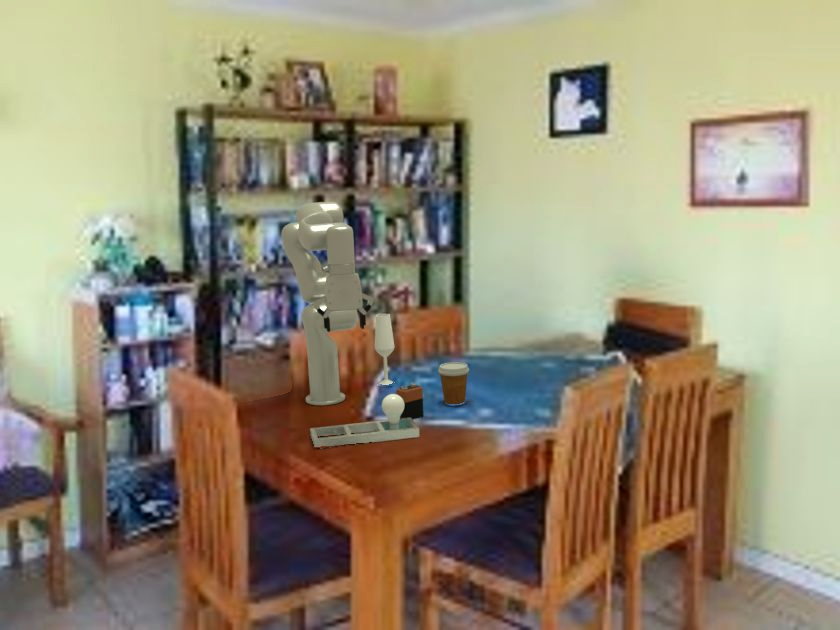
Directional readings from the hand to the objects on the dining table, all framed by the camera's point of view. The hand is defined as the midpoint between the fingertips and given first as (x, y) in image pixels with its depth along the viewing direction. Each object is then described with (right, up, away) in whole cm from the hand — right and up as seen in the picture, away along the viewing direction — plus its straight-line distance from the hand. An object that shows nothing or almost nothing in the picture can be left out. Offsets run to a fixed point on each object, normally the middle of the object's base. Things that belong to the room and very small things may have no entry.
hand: (345, 329), depth 244 cm
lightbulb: (+14, -29, -4) cm, 32 cm away
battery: (+18, -26, +10) cm, 34 cm away
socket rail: (+6, -30, -6) cm, 31 cm away
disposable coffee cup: (+32, -23, +22) cm, 45 cm away
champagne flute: (+10, -20, +47) cm, 52 cm away
